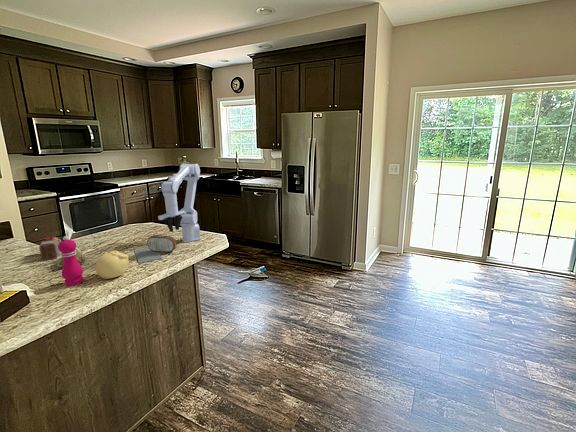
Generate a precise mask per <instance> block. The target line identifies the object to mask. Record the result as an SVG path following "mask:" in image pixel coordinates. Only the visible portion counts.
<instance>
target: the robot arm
mask: <svg viewBox="0 0 576 432" xmlns="http://www.w3.org/2000/svg"><path fill="white" fill-rule="evenodd" d="M200 168H201V167H200V166H199V164H198V163H182V164H180V166H179V170H178V172H177V173H173V174H172V175H171V177H170V178H169V179H168V180H166V181H164V182H162V183H161V186H160V191H161V192H162V195H163V197H164V204H165V205H164V206H165V211H166V213H163V214H161V215H158V216H157V218H158V220H159V221H164V222H165V224H166V226H167V227H168V230H169V232H174V230H176V231H179V230H180V226H181V235H182V237H181V238H180V239H181V240H182V242H183V243H188V242H194V241H200V240H201V231H200V229H201V228H200V225H199V223H198V212H197V210H195V209H194V204H195V197H196V191H197V183H198V180H200V176H201V175H200V174H201V169H200ZM183 180H185V181H186V182H187V184H186V191H185V198H184V205H183V208H181V209H180V210H179V207H178V201H177V200H178V197H177V193H178V190H179V187H180V185H181V184H182V182H183ZM173 224H174V227H173ZM174 228H175V229H174Z"/></svg>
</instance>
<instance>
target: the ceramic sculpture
mask: <svg viewBox="0 0 576 432" xmlns="http://www.w3.org/2000/svg"><path fill="white" fill-rule="evenodd" d="M75 250H76V259H77V261H78V263H79V264H80V265H81V264H84V263H85V261H86V257H85V255H83V252H82V250H81V249H80V248H79V247H78V246H76V249H75ZM56 263H57V268H63V265H64V259H63V257H62V256H61V258H60V259H59V260H58V261H57V262H56Z"/></svg>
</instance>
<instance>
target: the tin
mask: <svg viewBox="0 0 576 432" xmlns="http://www.w3.org/2000/svg"><path fill="white" fill-rule="evenodd" d="M146 245H147V248H149V249H151V250H152V251H158V252H159V253H161V252H162V253H171V252H173V251H174V250H176V248H177V246H178V243H177V240H176V239H175V238H174V237H173V236H172V235H163V234H162V235H160V234H153V235H151V236H150V237H148V239H147V241H146Z"/></svg>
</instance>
